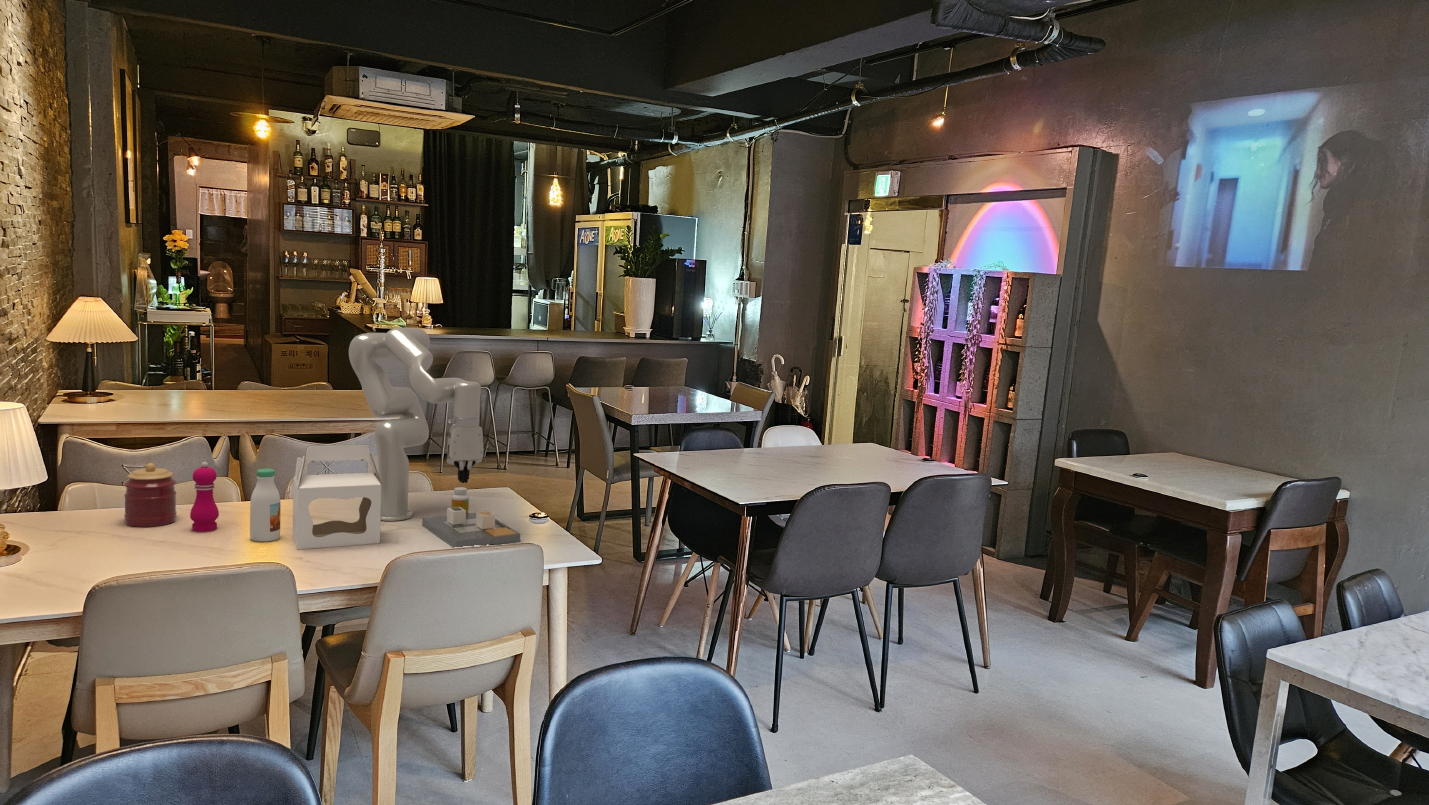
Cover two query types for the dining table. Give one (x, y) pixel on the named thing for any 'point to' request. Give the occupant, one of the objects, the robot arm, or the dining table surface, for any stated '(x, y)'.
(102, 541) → the dining table surface
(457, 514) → the block
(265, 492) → the milk bottle
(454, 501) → the supplement bottle
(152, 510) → the canister
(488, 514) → the block
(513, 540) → the panel
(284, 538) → the dining table surface
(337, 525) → the gable box
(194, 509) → the pepper mill
